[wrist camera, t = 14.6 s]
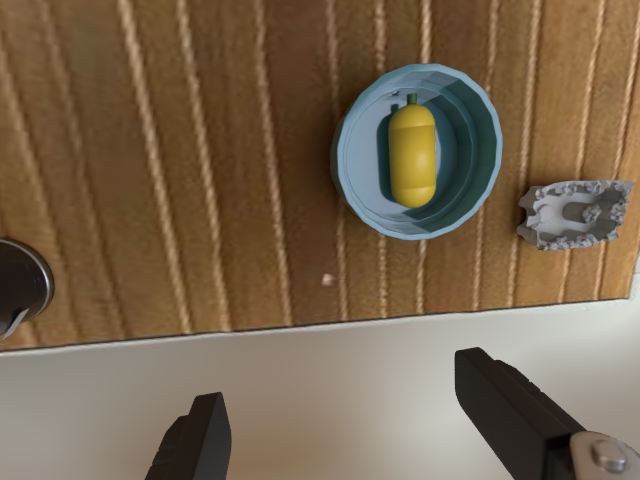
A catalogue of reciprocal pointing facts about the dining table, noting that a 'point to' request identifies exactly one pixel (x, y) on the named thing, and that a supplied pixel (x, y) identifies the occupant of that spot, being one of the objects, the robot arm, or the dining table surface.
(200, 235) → the dining table surface
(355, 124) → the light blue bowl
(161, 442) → the robot arm
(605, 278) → the dining table surface
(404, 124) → the squash
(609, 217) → the egg carton
